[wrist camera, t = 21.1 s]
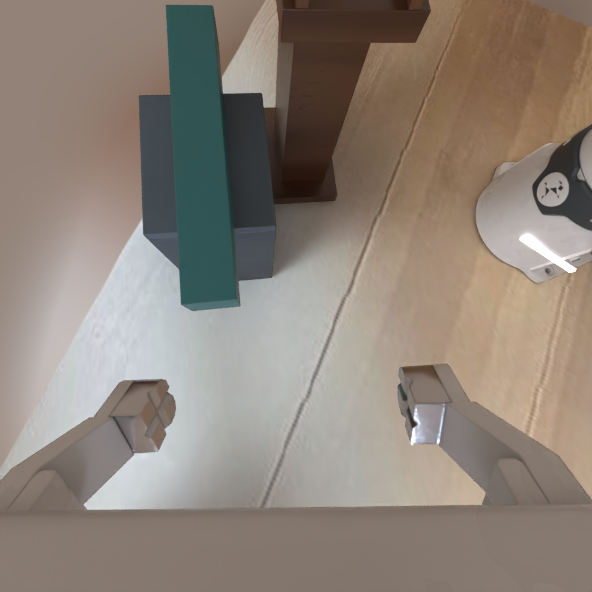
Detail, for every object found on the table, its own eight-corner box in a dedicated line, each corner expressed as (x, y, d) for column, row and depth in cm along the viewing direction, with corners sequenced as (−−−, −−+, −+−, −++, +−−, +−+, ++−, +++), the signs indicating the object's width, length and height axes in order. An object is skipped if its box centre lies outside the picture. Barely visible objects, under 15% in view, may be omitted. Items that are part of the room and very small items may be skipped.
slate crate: (271, 277, 41) (276, 226, 24) (195, 284, 40) (142, 235, 23) (263, 194, 43) (262, 92, 26) (189, 198, 42) (138, 94, 25)
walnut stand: (335, 207, 44) (445, -18, 17) (272, 211, 43) (284, -22, 16) (321, 108, 47) (398, -222, 20) (261, 109, 46) (256, -237, 19)
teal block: (240, 306, 23) (236, 299, 20) (191, 311, 23) (180, 305, 20) (218, 43, 27) (212, 4, 24) (176, 43, 26) (165, 4, 23)
